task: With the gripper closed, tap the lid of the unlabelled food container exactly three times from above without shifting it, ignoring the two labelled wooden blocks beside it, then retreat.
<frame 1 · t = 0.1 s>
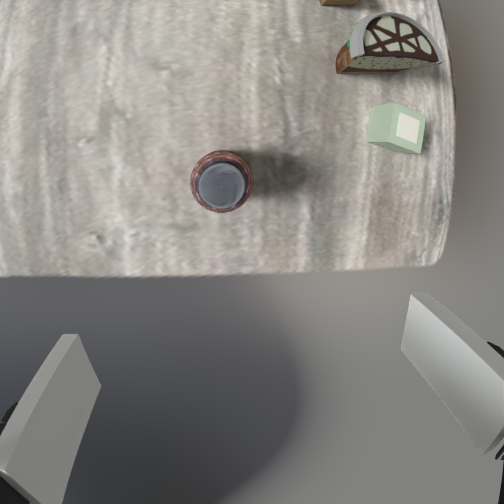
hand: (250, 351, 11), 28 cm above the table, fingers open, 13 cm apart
sage block: (383, 129, 36), on the table
supplement bottle: (221, 174, 36), on the table
food container: (362, 53, 32), on the table
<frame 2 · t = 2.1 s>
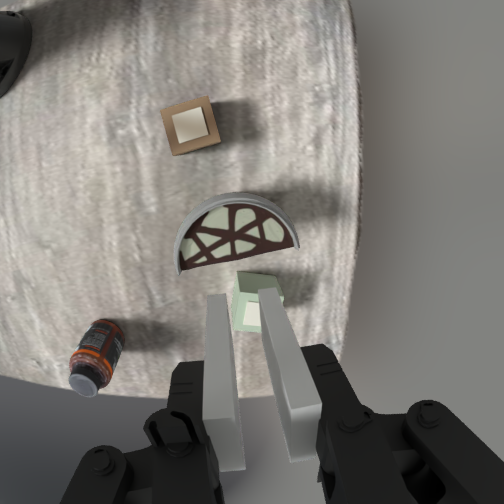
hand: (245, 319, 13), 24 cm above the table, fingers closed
walnut block: (194, 128, 32), on the table
sage block: (252, 290, 40), on the table
supplement bottle: (107, 334, 40), on the table
food container: (228, 209, 36), on the table
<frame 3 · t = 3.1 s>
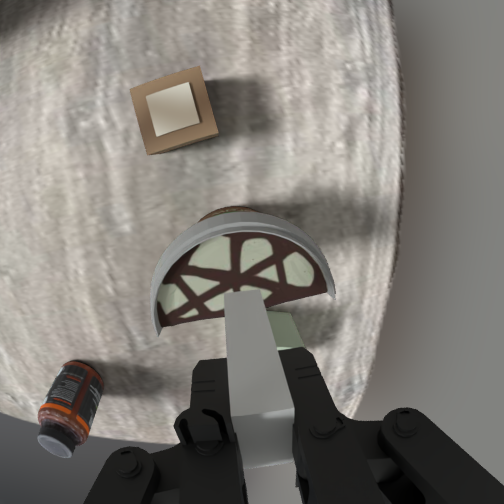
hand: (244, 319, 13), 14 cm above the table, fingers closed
walnut block: (181, 116, 23), on the table
sage block: (260, 331, 30), on the table
supplement bottle: (83, 376, 30), on the table
food container: (228, 227, 26), on the table
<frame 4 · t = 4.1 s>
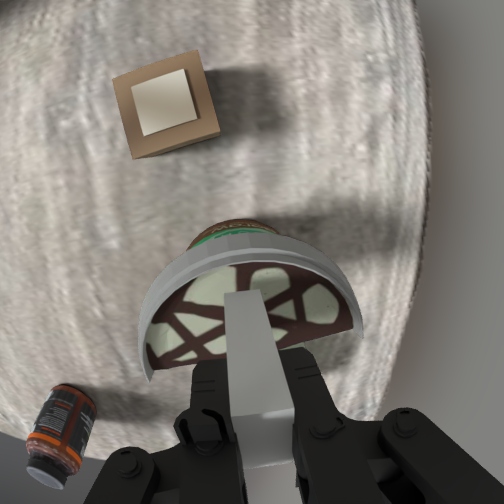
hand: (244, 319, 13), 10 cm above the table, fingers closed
walnut block: (176, 113, 19), on the table
supplement bottle: (74, 400, 27), on the table
food container: (232, 244, 23), on the table, touching gripper
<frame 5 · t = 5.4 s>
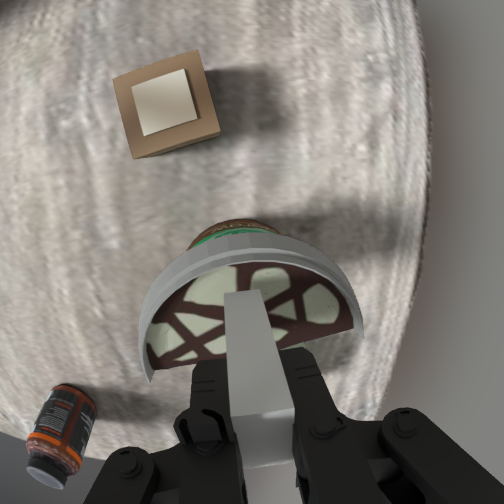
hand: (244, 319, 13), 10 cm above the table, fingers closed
walnut block: (176, 113, 19), on the table
supplement bottle: (74, 400, 27), on the table
food container: (232, 244, 23), on the table, touching gripper
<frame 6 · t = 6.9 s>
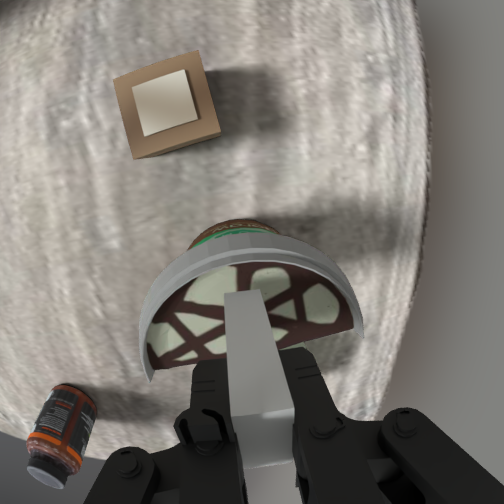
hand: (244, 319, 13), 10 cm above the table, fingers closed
walnut block: (177, 113, 19), on the table
supplement bottle: (75, 400, 27), on the table
food container: (233, 244, 23), on the table, touching gripper
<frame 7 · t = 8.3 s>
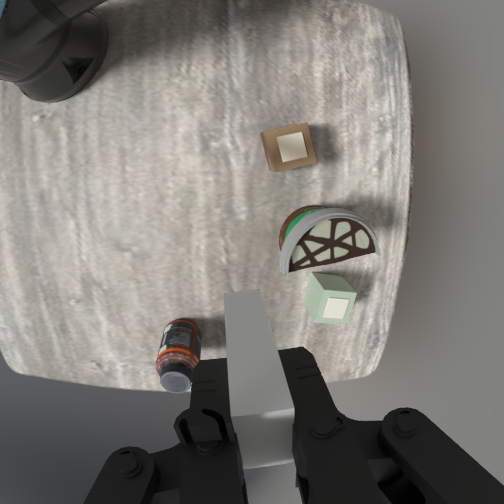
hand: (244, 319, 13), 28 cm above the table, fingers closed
walnut block: (283, 147, 38), on the table
sage block: (322, 289, 45), on the table
supplement bottle: (182, 333, 45), on the table
food container: (308, 218, 41), on the table
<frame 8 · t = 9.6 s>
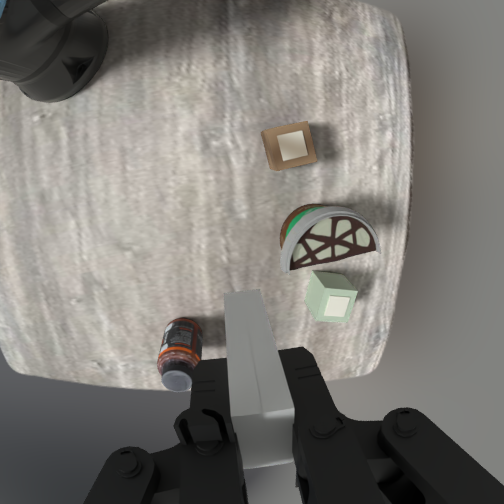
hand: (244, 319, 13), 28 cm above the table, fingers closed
walnut block: (283, 146, 38), on the table
sage block: (323, 287, 45), on the table
supplement bottle: (184, 332, 45), on the table
food container: (309, 217, 42), on the table
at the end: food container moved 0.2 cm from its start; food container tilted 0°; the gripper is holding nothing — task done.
